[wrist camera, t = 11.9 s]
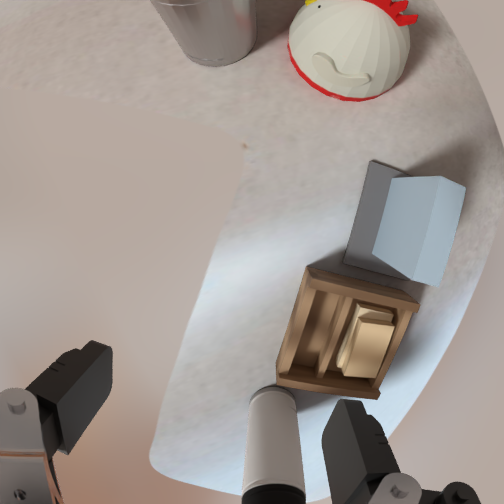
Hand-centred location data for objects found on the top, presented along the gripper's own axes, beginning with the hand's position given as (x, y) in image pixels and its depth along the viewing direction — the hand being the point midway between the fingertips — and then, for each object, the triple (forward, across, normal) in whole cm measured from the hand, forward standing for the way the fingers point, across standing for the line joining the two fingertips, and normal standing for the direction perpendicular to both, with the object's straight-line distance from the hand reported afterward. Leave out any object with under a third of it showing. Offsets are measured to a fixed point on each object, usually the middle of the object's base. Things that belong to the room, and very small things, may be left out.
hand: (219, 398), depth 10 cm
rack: (+26, -13, +7) cm, 30 cm away
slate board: (+26, -15, -7) cm, 31 cm away
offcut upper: (+24, -16, +8) cm, 29 cm away
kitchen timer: (+27, -6, -26) cm, 38 cm away
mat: (+26, -15, -7) cm, 31 cm away
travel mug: (+26, -8, +20) cm, 34 cm away
